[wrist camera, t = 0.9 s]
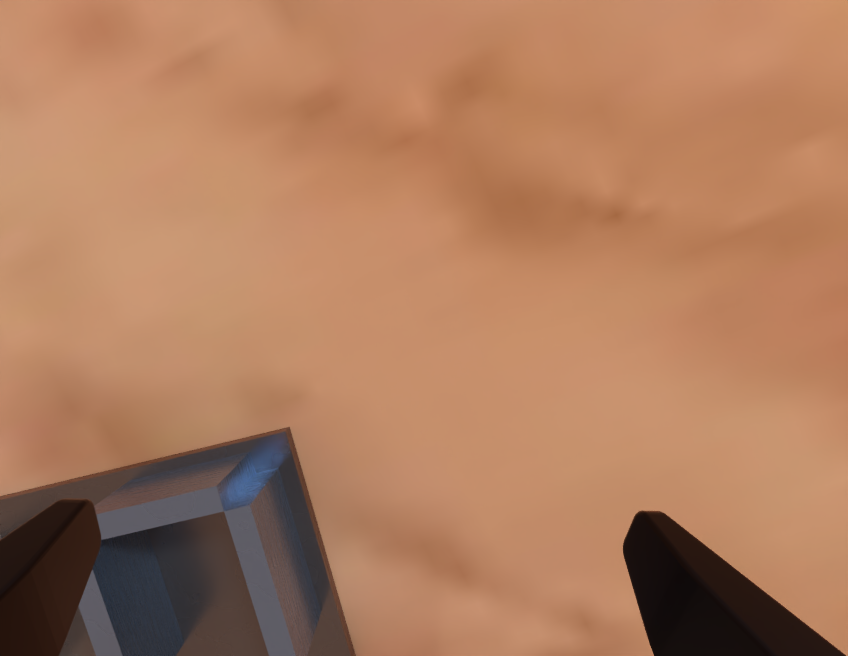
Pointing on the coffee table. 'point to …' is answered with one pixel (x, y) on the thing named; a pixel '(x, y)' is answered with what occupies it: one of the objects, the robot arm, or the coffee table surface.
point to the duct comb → (201, 556)
